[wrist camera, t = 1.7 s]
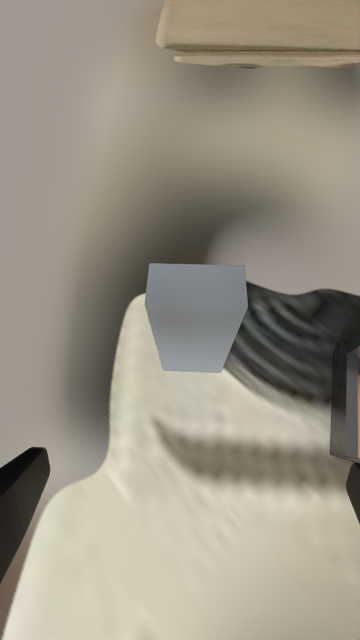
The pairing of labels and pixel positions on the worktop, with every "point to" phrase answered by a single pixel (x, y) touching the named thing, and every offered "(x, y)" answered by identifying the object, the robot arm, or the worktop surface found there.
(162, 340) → the grey rectangular block
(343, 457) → the compartment tray
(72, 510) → the worktop surface
